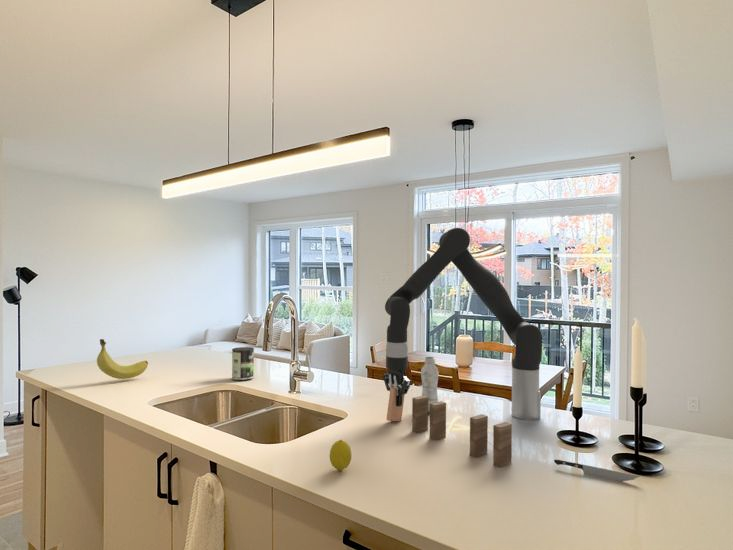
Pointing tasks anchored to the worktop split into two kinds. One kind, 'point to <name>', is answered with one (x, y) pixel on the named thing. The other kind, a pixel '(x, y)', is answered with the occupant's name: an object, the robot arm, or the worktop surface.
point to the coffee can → (242, 363)
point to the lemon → (340, 455)
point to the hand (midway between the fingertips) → (396, 405)
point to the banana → (118, 366)
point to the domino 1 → (394, 407)
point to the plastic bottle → (429, 380)
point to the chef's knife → (600, 471)
